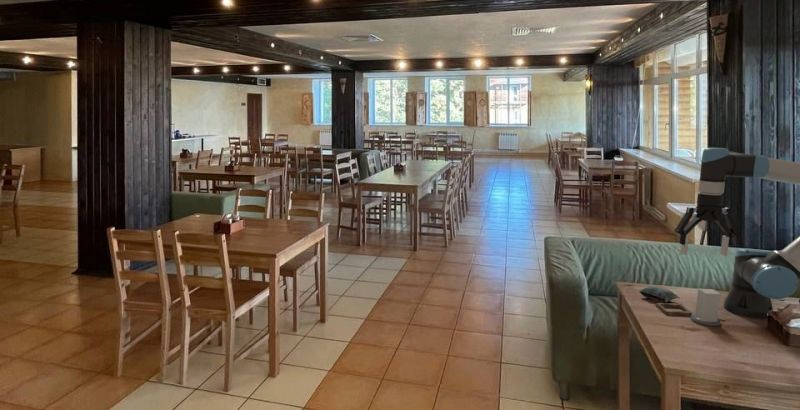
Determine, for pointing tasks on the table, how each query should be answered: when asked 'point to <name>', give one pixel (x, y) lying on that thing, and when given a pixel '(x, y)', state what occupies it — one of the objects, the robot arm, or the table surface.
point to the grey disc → (704, 321)
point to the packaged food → (658, 294)
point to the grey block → (707, 305)
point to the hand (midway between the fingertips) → (703, 254)
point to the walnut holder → (683, 313)
